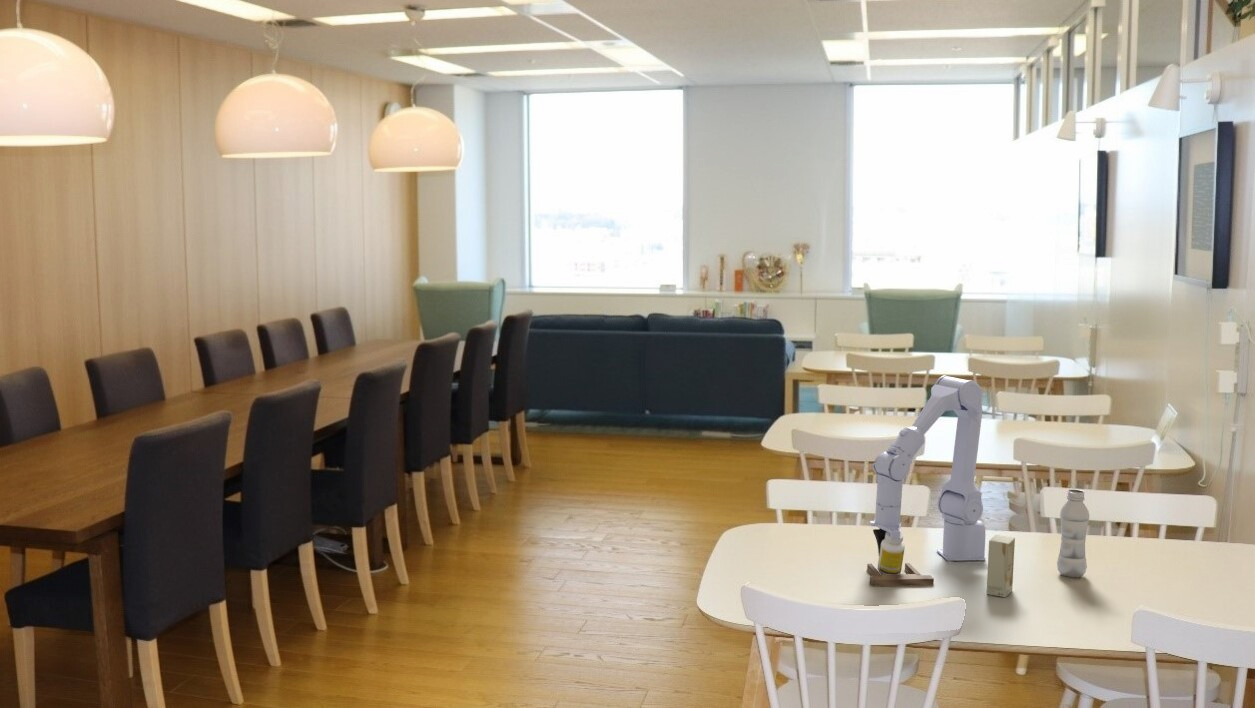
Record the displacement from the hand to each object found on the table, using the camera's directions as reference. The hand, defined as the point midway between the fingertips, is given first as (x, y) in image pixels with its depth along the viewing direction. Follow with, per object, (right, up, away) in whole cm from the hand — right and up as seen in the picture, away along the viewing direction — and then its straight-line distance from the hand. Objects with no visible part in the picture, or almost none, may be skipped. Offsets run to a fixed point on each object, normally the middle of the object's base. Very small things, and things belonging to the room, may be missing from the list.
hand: (884, 560), depth 273 cm
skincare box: (+22, -5, -15) cm, 27 cm away
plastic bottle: (+42, -3, -4) cm, 43 cm away
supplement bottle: (+1, -2, -2) cm, 3 cm away
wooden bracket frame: (+1, -3, -5) cm, 6 cm away
